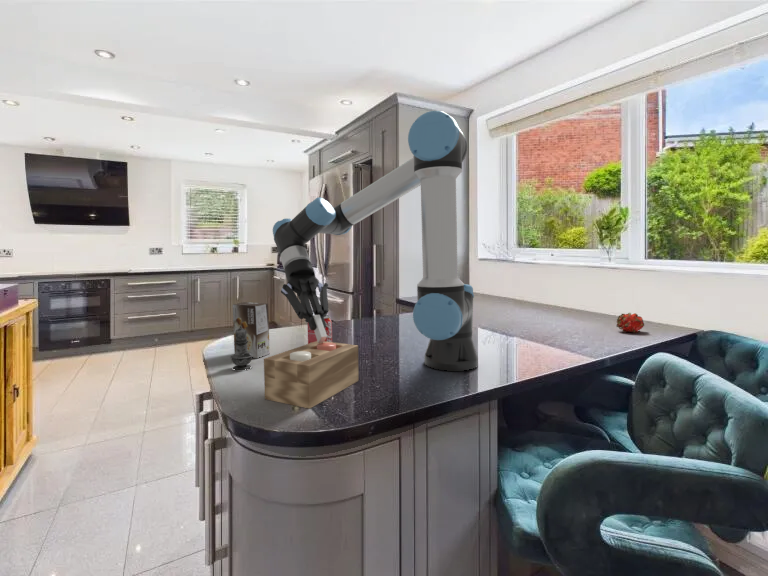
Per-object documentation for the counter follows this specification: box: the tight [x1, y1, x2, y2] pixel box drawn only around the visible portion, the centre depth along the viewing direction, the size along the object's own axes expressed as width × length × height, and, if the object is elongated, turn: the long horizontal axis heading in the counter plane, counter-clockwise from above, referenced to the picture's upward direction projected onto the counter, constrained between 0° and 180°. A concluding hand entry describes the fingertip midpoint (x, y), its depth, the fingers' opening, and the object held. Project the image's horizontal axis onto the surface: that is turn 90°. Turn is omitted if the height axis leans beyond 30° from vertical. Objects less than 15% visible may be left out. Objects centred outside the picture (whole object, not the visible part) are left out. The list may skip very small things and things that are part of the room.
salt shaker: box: [229, 325, 253, 371], centre depth 112 cm, size 6×6×12 cm
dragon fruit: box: [616, 312, 645, 334], centre depth 163 cm, size 8×8×12 cm
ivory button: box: [290, 351, 311, 362], centre depth 91 cm, size 5×5×4 cm
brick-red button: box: [317, 342, 336, 351], centre depth 100 cm, size 5×5×4 cm
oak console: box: [263, 341, 359, 409], centre depth 95 cm, size 12×20×9 cm, turn 153°
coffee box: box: [232, 301, 271, 359], centre depth 126 cm, size 9×6×16 cm
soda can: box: [307, 314, 333, 344], centre depth 121 cm, size 7×7×13 cm
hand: (322, 339), depth 100 cm, fingers closed
